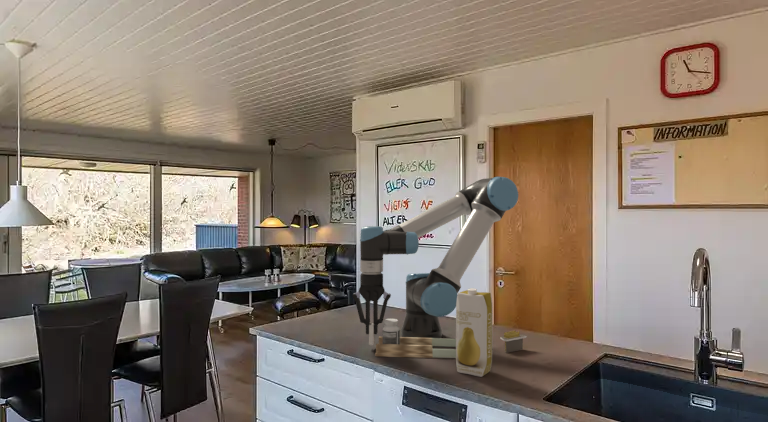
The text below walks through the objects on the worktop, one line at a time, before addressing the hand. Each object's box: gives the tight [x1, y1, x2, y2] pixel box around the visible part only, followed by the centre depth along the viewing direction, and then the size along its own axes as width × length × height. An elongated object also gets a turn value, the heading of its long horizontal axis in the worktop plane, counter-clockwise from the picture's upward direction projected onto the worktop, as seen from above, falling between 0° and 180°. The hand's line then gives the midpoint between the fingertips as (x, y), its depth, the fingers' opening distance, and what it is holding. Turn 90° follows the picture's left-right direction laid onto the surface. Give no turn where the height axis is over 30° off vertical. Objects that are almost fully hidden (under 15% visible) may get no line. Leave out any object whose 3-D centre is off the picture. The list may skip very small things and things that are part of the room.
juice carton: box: [455, 287, 493, 378], centre depth 142 cm, size 9×8×24 cm
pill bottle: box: [382, 318, 401, 344], centre depth 164 cm, size 6×6×10 cm
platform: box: [500, 330, 527, 354], centre depth 164 cm, size 12×18×7 cm, turn 124°
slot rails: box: [374, 336, 434, 359], centre depth 163 cm, size 18×15×3 cm
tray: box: [432, 337, 456, 359], centre depth 162 cm, size 14×14×2 cm
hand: (371, 343), depth 164 cm, fingers closed
